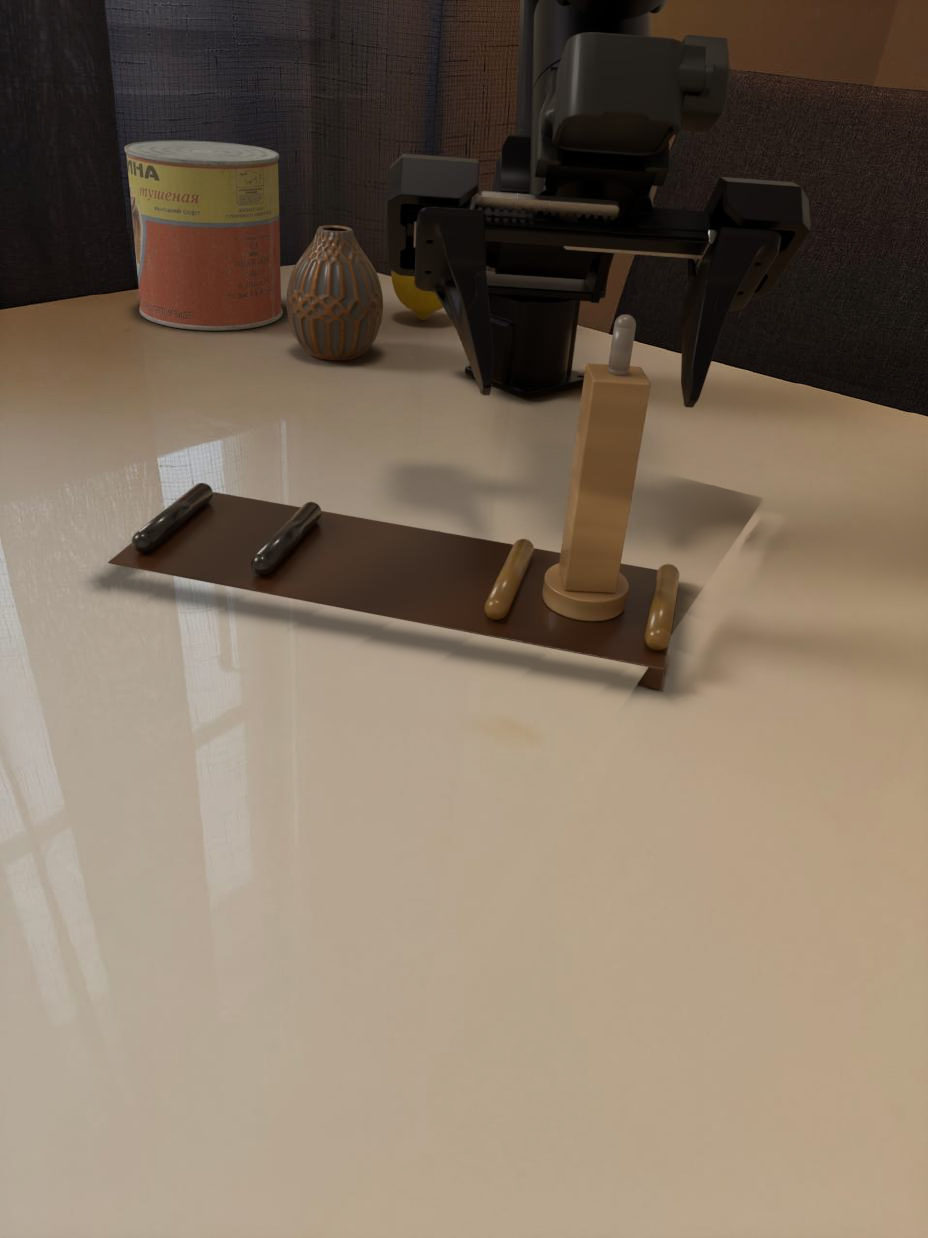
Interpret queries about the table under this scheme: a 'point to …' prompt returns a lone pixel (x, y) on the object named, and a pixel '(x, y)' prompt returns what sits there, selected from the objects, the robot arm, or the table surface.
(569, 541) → the wooden tall post
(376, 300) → the vase
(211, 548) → the board
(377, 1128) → the table surface
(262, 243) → the canned food
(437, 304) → the lemon
